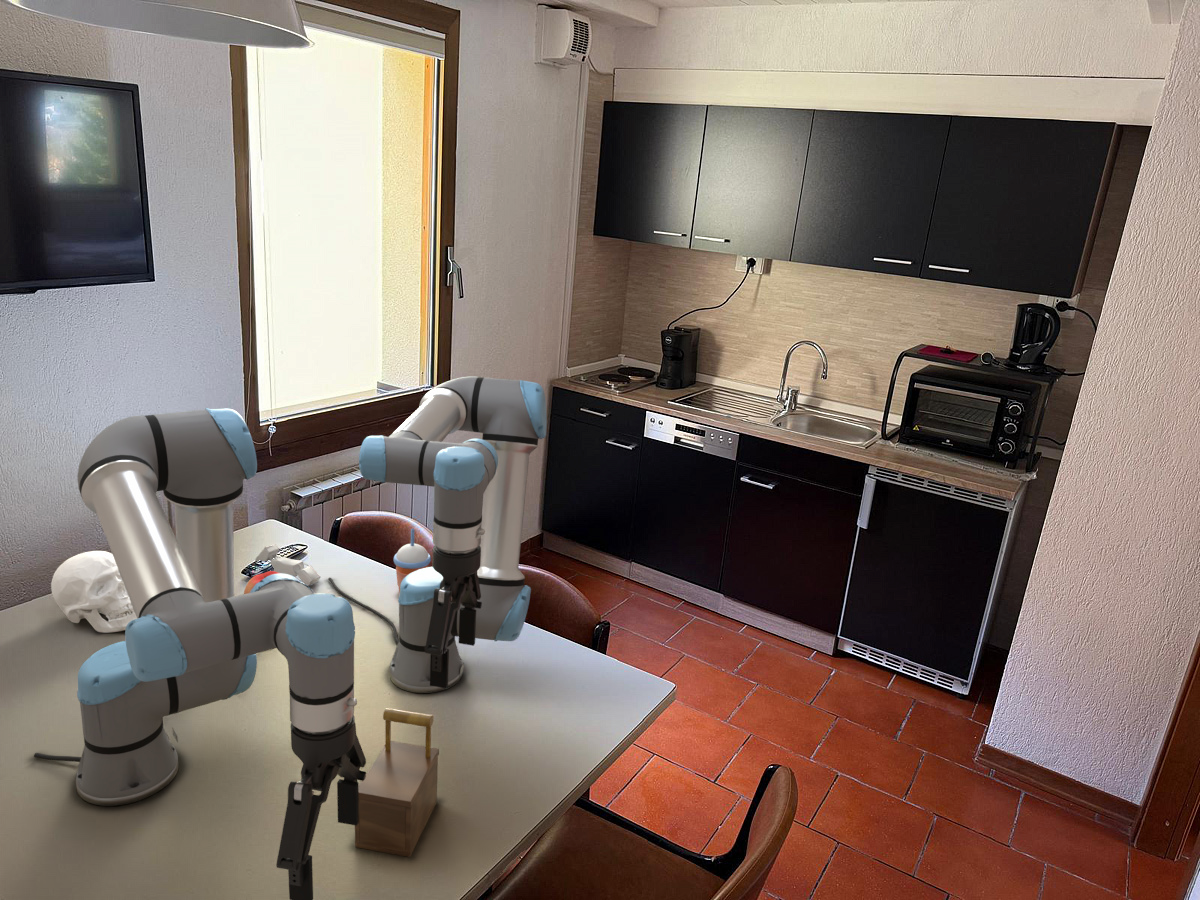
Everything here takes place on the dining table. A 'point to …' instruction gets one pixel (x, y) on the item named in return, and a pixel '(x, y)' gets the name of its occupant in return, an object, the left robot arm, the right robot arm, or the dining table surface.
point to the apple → (257, 580)
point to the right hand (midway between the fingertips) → (453, 663)
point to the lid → (400, 763)
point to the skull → (92, 591)
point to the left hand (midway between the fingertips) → (326, 858)
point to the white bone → (288, 565)
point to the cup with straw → (410, 559)
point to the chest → (396, 820)
